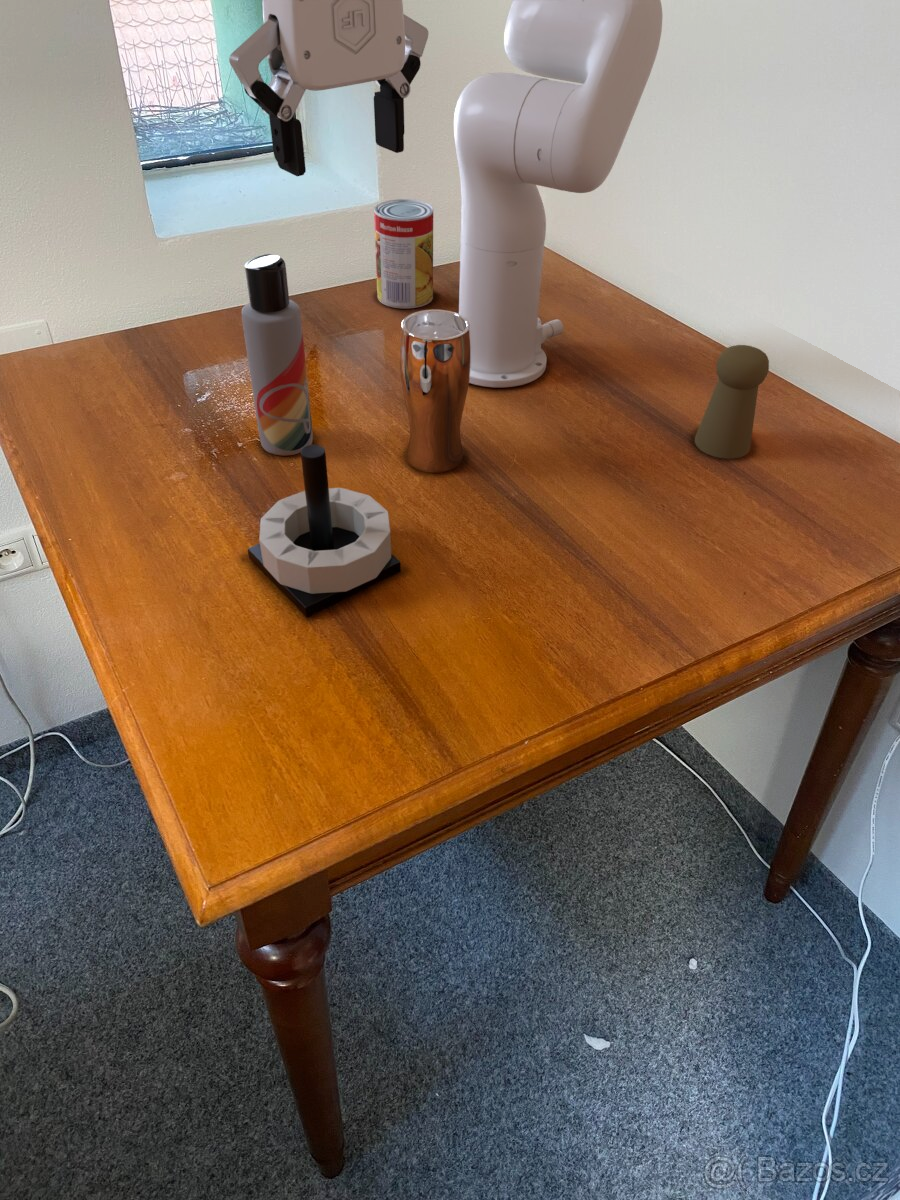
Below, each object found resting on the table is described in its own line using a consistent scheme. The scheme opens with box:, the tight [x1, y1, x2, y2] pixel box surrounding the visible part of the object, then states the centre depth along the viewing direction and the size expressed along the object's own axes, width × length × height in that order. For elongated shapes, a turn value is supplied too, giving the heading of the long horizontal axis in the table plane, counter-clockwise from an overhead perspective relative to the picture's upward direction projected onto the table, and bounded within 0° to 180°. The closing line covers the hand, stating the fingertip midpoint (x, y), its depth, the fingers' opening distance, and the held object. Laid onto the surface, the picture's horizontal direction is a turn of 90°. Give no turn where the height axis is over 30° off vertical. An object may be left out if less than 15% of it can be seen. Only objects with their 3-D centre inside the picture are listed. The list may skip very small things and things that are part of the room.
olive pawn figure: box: [694, 344, 770, 460], centre depth 93 cm, size 6×6×11 cm
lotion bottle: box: [241, 253, 314, 457], centre depth 88 cm, size 6×6×20 cm
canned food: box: [373, 198, 434, 310], centre depth 120 cm, size 8×8×12 cm
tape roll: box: [258, 487, 392, 594], centre depth 79 cm, size 11×11×3 cm
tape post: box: [247, 444, 402, 618], centre depth 76 cm, size 10×10×12 cm
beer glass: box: [399, 309, 471, 474], centre depth 88 cm, size 7×7×15 cm
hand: (342, 159), depth 72 cm, fingers open, 9 cm apart
